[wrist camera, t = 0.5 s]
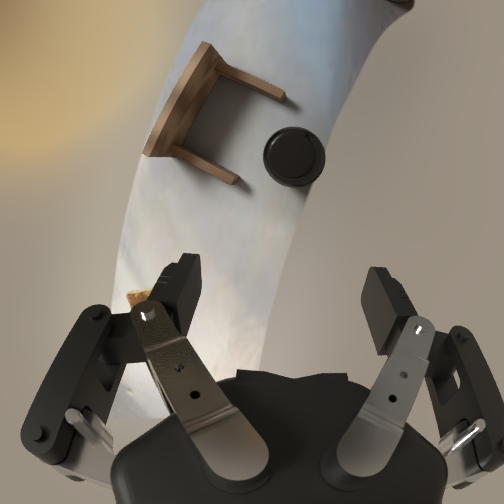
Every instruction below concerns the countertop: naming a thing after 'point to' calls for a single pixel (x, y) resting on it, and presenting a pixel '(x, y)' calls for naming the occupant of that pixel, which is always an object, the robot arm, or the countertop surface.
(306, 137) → the supplement bottle
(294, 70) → the countertop surface
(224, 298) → the countertop surface
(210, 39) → the countertop surface
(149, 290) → the shard
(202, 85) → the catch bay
